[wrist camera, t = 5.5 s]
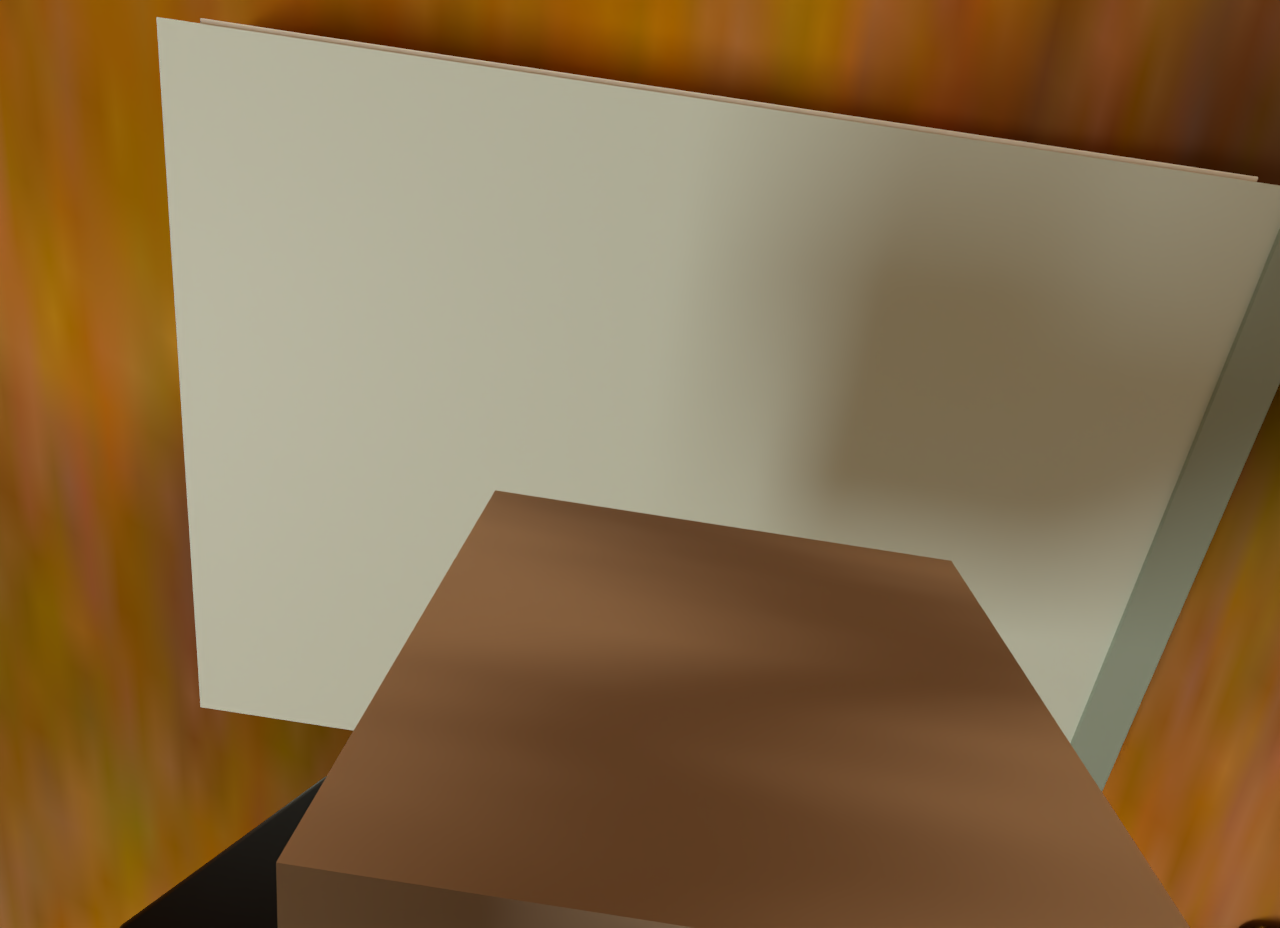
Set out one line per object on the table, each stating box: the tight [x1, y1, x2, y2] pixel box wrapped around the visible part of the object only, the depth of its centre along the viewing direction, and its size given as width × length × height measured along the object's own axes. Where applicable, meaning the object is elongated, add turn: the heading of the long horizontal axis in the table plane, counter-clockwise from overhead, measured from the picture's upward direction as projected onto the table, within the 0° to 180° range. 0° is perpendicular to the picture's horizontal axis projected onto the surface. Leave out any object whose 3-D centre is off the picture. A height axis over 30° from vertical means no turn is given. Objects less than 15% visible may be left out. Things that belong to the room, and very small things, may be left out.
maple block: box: [276, 490, 1190, 928], centre depth 7 cm, size 5×5×5 cm
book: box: [156, 17, 1280, 792], centre depth 17 cm, size 20×14×3 cm
